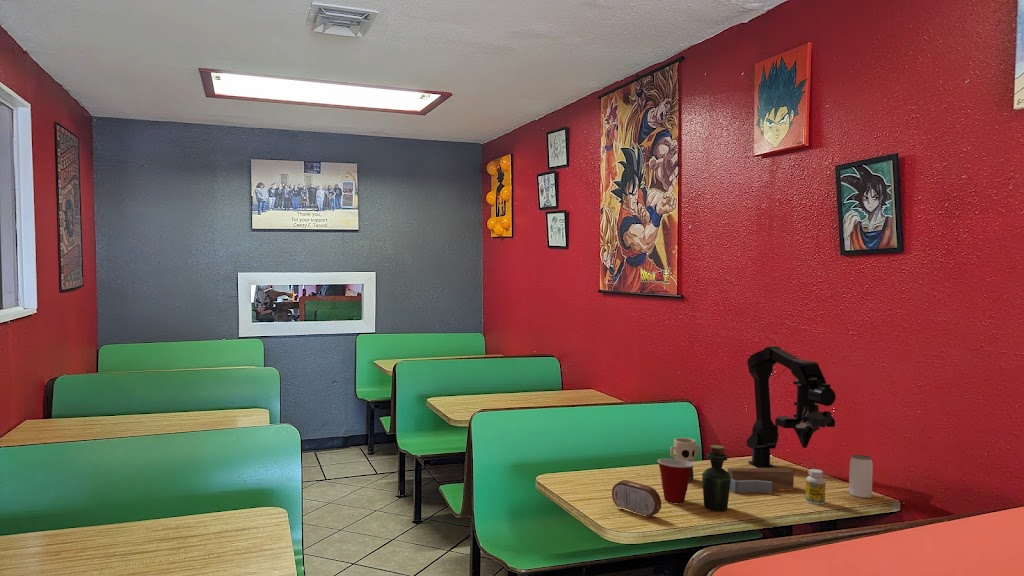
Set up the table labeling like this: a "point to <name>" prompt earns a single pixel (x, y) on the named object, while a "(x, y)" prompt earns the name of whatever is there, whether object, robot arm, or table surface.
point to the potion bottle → (716, 481)
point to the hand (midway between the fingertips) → (804, 447)
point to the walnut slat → (765, 476)
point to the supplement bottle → (815, 487)
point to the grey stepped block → (750, 486)
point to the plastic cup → (675, 478)
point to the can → (860, 476)
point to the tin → (636, 497)
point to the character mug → (685, 450)
